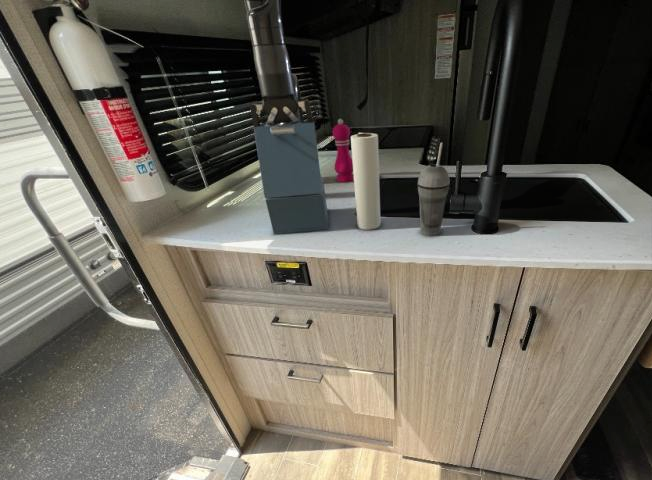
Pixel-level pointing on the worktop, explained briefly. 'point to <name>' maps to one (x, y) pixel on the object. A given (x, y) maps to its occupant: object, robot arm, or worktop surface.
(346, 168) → the pepper mill
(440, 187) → the beverage cup
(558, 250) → the worktop surface
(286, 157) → the freezer lid
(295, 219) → the freezer
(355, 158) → the paper towel roll
